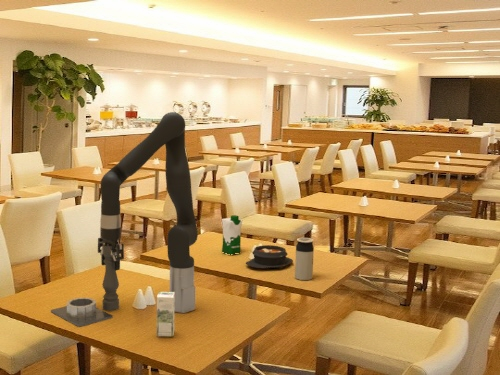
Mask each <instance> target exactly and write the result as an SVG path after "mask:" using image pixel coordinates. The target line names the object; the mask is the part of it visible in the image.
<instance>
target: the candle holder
mask: <svg viewBox="0 0 500 375" xmlns="http://www.w3.org/2000/svg"><path fill="white" fill-rule="evenodd" d="M109 247H110V248H111V249H112V246H107V245H104V244H103V254H104V256H105V259H104V263H105V265H104V266H105V269H104V270H105V272H104V276H103V281H102V289H103V290H104V292H105V293H104V294H103V296H102V297H103V298H102V311H104V312H106V311H107V312H112V311H117V310H119V309H120V299H119V294H118V293H117V292H118V291H117V290H118V289H119V286H120V282H119V277H118V274H117V270H116V271H115V270H114V259H113V256H111V254H110V248H109ZM112 251H113V252H116V250H112ZM115 256H116V255H115ZM116 257H117V256H116Z"/></svg>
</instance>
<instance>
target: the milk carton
mask: <svg viewBox="0 0 500 375" xmlns="http://www.w3.org/2000/svg"><path fill="white" fill-rule="evenodd" d="M239 217H240V216H239V215H230V217H227V218H226V217H225V218H221V222H222V223H221V224H222V249H221V253H222V252H224V253H227V254H230V255H231V254H235V253H240V252H241V253H242V250H241V249H242V246H241V239H242V238H241V237H242V236H241V234H242V225H243V219H240V218H239ZM224 253H223V254H224Z"/></svg>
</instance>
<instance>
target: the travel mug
mask: <svg viewBox="0 0 500 375" xmlns="http://www.w3.org/2000/svg"><path fill="white" fill-rule="evenodd" d="M296 241H297V244H296V245H295V266H294V278H295V279H296V280H298V279H299V281H310V280H312V279H313V273H314V272H313V271H314V255H315V254H314V249H315V248H314V244H313V242H314V241H315V240H314V239H313V238H310V237H299V238H298V237H297V239H296Z"/></svg>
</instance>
